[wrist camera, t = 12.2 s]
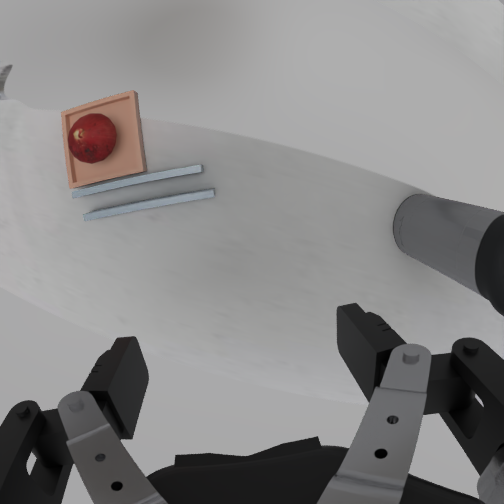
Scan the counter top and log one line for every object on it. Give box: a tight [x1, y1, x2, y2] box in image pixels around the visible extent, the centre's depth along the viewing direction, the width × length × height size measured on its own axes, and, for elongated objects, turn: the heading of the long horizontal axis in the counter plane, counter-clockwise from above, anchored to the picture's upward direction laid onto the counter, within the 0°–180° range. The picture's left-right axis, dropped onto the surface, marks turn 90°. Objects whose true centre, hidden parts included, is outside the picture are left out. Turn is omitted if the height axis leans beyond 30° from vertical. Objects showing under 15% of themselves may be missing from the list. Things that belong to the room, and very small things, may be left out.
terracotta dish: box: [61, 90, 147, 189], centre depth 34 cm, size 10×10×2 cm
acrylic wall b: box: [72, 165, 203, 198], centre depth 35 cm, size 16×1×4 cm, turn 98°
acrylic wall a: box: [83, 188, 215, 221], centre depth 36 cm, size 16×1×4 cm, turn 98°
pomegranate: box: [68, 113, 117, 164], centre depth 30 cm, size 6×6×8 cm
